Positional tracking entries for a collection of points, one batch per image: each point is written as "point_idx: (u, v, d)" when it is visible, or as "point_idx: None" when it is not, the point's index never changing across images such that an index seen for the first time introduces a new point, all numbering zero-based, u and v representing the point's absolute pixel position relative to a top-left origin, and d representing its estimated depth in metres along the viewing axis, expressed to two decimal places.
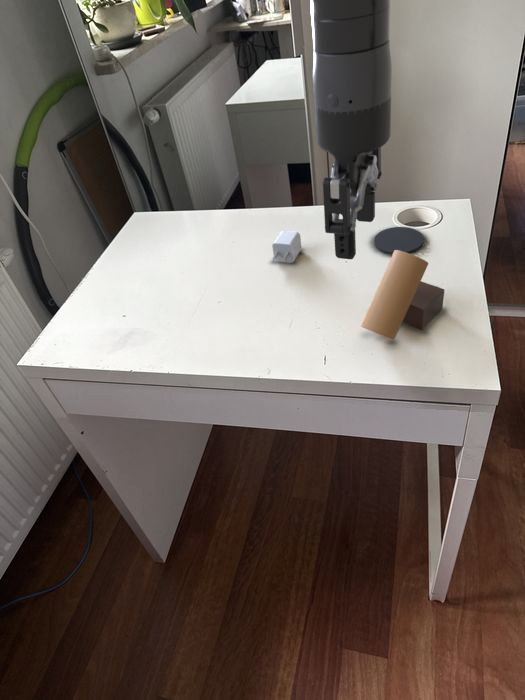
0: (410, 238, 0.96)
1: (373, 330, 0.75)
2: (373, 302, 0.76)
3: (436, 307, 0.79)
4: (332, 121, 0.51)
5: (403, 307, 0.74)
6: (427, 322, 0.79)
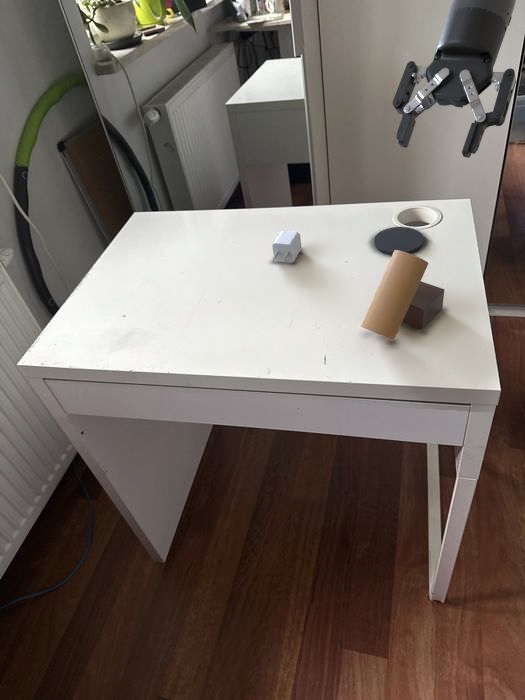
0: (410, 238, 0.96)
1: (373, 330, 0.75)
2: (373, 302, 0.76)
3: (436, 307, 0.79)
4: None
5: (403, 307, 0.74)
6: (427, 322, 0.79)
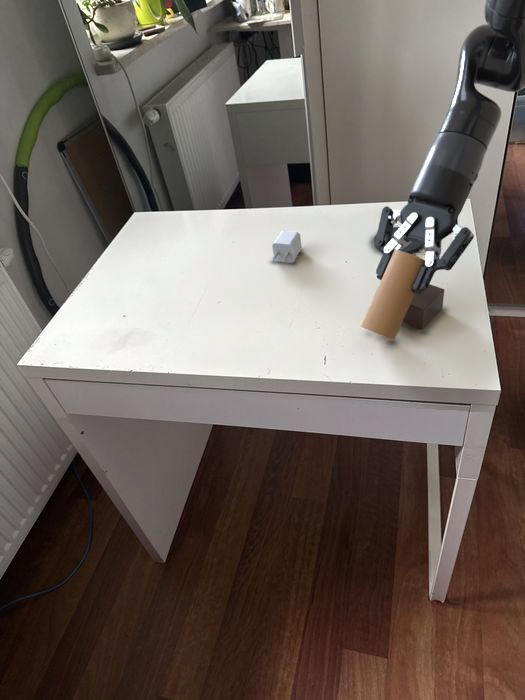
0: None
1: (373, 330, 0.75)
2: (373, 302, 0.76)
3: (436, 307, 0.79)
4: None
5: (403, 307, 0.74)
6: (427, 322, 0.79)
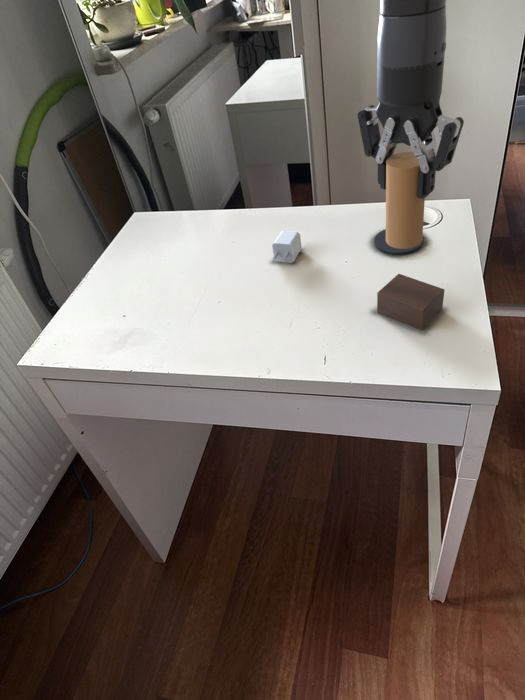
0: None
1: (396, 247, 0.75)
2: (386, 219, 0.74)
3: (436, 307, 0.79)
4: None
5: (416, 216, 0.71)
6: (427, 322, 0.79)
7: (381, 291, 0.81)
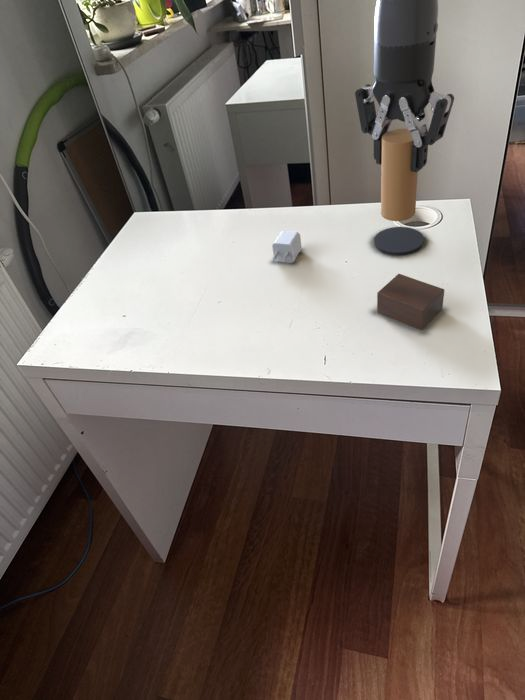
0: (410, 238, 0.96)
1: (391, 219, 0.80)
2: (382, 192, 0.79)
3: (436, 307, 0.79)
4: None
5: (410, 189, 0.76)
6: (427, 322, 0.79)
7: (381, 291, 0.81)
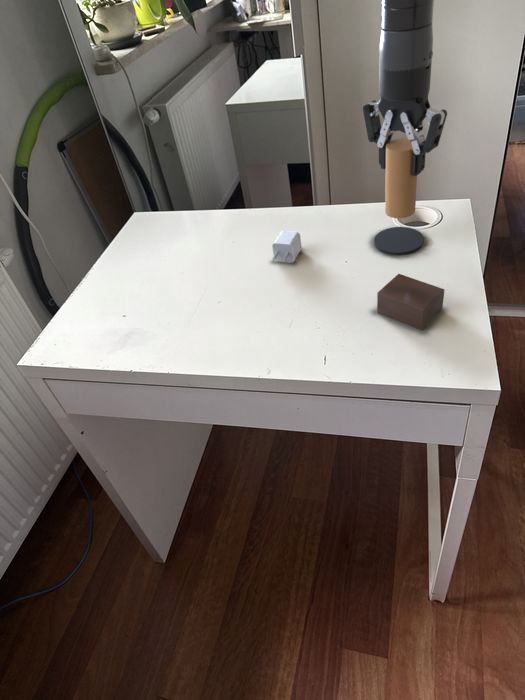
0: (410, 238, 0.96)
1: (394, 217, 0.92)
2: (386, 193, 0.90)
3: (436, 307, 0.79)
4: None
5: (410, 190, 0.88)
6: (427, 322, 0.79)
7: (381, 291, 0.81)
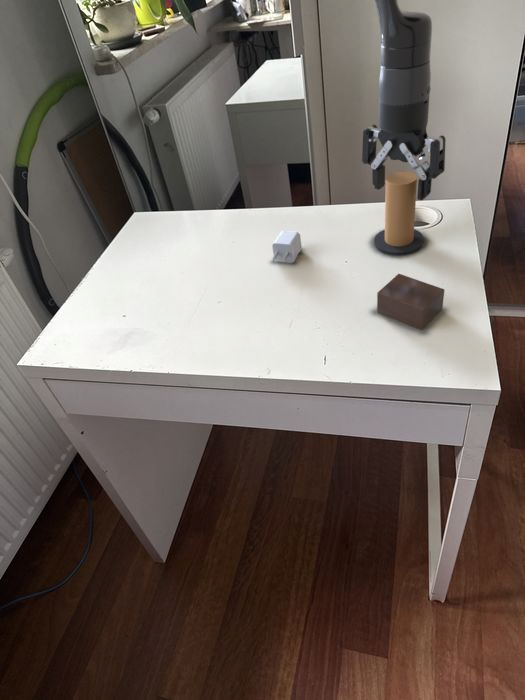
0: None
1: (393, 245, 0.95)
2: (385, 223, 0.94)
3: (436, 307, 0.79)
4: None
5: (409, 221, 0.92)
6: (427, 322, 0.79)
7: (381, 291, 0.81)
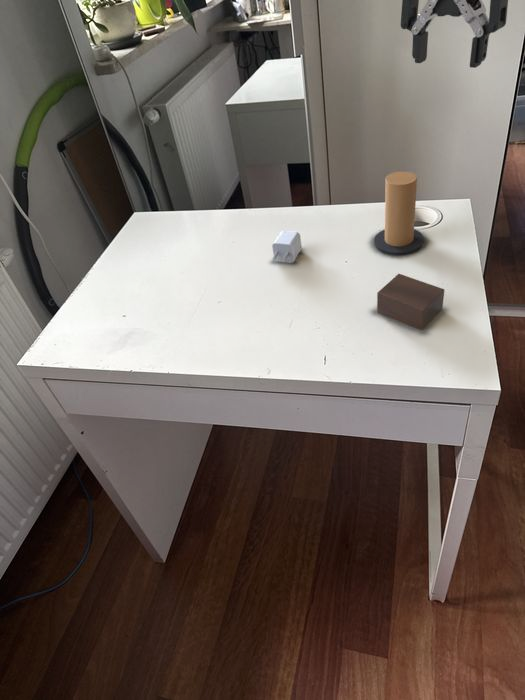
0: None
1: (393, 245, 0.95)
2: (385, 223, 0.94)
3: (436, 307, 0.79)
4: None
5: (409, 221, 0.92)
6: (427, 322, 0.79)
7: (381, 291, 0.81)
